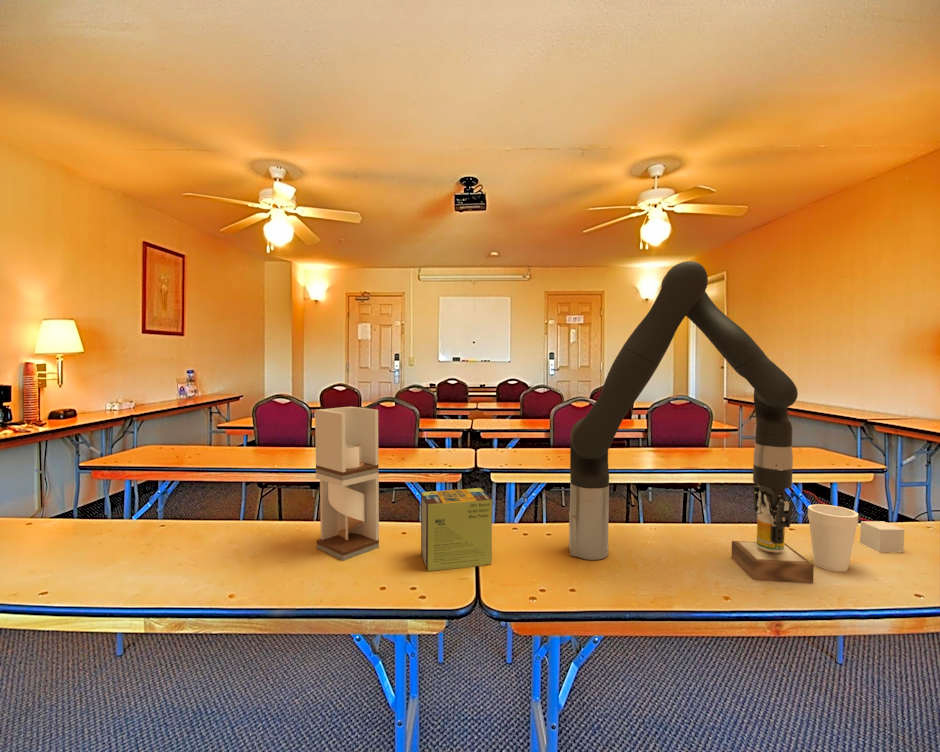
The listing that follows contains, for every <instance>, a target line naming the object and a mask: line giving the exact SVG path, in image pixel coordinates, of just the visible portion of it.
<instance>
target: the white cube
mask: <svg viewBox="0 0 940 752" xmlns="http://www.w3.org/2000/svg"><path fill="white" fill-rule="evenodd" d="M860 543H862V544H864V545H866V546H868V547H870V548H872V549H874V550H876V551H878V552H899V551H900V552H903V553H904V550H905V549H904V547H905V544H904V543H905V529H904V528H902V527H899V526H896V525H895V524H892V523H889V522H886V521H884V520H883V521H881V520H880V521H879V520H872V521H870V520H866V521H863V520H862V521H860V537H859V544H860ZM862 544H861V545H862ZM864 545H863V546H864ZM866 546H865V547H866ZM868 547H867V548H868ZM870 548H869V549H870ZM872 549H871V550H872ZM874 550H873V551H874ZM876 551H875V552H876ZM878 552H877V553H878Z"/></svg>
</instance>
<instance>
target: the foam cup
mask: <svg viewBox="0 0 940 752" xmlns="http://www.w3.org/2000/svg"><path fill="white" fill-rule="evenodd" d="M807 518H808V521H809V522H808V523H809V531H810V539H811V548H812V549H811V550H812V554H813V555H812V556H813V557H812V558H813V564H814V565H815V566H817V567H819V568H821V569H824V570H828V571H830V572H831V571H832V572H839V573H840V572H842V573H843V572H844V573H845V572H848V570H849V567H850V562H851V556H852V551H853V546H854V541H855V536H856V533H857V532H856V531H857V527H859V513H858V512H856V511H854V510H853V509H849V508H846V507H843V506H837V505H833V504H832V505H831V504H824V503H822V504H818V503H817V504H811V505H808V507H807Z"/></svg>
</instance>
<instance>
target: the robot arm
mask: <svg viewBox="0 0 940 752" xmlns="http://www.w3.org/2000/svg"><path fill="white" fill-rule="evenodd" d="M706 270H707V269H705V267H704V266H703V265H702V264H701V263H699V262H697V261H692V260H691V261H690V260H689V261H688V260H687V261H682V262H679V263H676V264H675V265H674V266H672V267H671V268H670V269H668V271H667V272H666V274H665V276H664V277H663V279H662V281H661V284H660V287H661V288H660V290H659V292H658V294H657V296H656V298H655V300H654V303H653V304H652V306H651V308H650V309H649V311H648V313H647V314H646V315H645V316H644V318H643V319H642V320H641V321H640V323H639V324H638V325H637V326H636V327H635V329H634V330H633V331H632V333H631V334H630V335H629V337H628V338H627V340H626V341H625V343H624V344H623V345H622V348H621V349H620V350H619V352H618V354H617V355H616V357H615V359H614V361H613V363H612V364H611V367H610V369H609V370H608V373H607V376H606V378H605V380H604V383H603V386H602V389H601V391H600V393H599V395H598V398H597V399H596V401H595V403H594V404H593V405H592V407H591V409H590V410H589V412H588V413H587V414H586V415H585V417H583V418H581V419H578V420H577V421H576V422H575V423H574V424H573V426H572V428H571V431H570V437H569V438H570V445H569V446H570V449H569V450H570V451H569V452H570V453H569V457H570V458H569V460H570V461H569V463H570V464H569V465H570V466H569V469H570V471H569V474H570V475H569V477H570V482H569V483H570V486H569V487H570V488H569V489H570V491H569V493H570V494H569V495H570V497H569V498H570V499H569V501H570V502H569V506H570V507H569V511H568V512H569V513H568V515H569V516H568V517H569V518H568V519H569V520H568V521H569V522H568V548H569V549H568V550H569V555H570V557H576V558H580V559H582V558H583V560H590V561H591V560H592V561H595V560H596V561H597V560H598V561H599V560H603V559H605V558H607V557H608V555H609V523H610V522H609V514H610V513H609V510H610V509H609V507H610V505H609V504H610V503H609V502H610V471H609V450H610V448H611V445H612V444H613V442H614V441H613V440H614V439H615V436H616V434H617V432H618V430H619V428H620V426H621V424H622V422H623V420H624V418H625V416H626V415H627V413H628V411H629V410H630V409H631V407H632V406H633V405H634V403H635V402H636V400H637V399H638V397H639V396H640V395H641V393H642V392H643V390H644V389H645V387H646V386H647V385H648V383H649V382H650V380H651V378H652V377H653V376H654V373H655V372H656V370H657V369H658V367H659V365H660V364H661V362H662V360H663V358H664V356H665V355H666V353H667V350H668V349H669V347H670V345H671V343H672V341H673V338H674V336H675V334H676V332H677V330H678V329H679V327H680V325H681V324H682V322H683V320H684V319H685V318H686V317H687V318H688V319H689V320H690V321H691V322H692V323H693V324H694V325H695V326H696V327H697V328H698V329H699V331H701V332H702V333H703V335H704V336H705V337H706V338H707V339H708V340H709V341H710V343H711V344H712V345H713V346H714V348H715V349H716V350H717V351H718V352H719V354H721V356H722V357H723V358H724V359H725V361H726V362H727V363H728V364H729V366H730V367H731V368H732V369H733V370H734V371H735V372H736V373H737V374H738V375H739V376H740V377H742V378H744V379H745V380H746V381H747V382H748V383H749V385H750V386H751V387H752V388H753V406H754V413H755V421H756V425H755V441H754V443H755V445H754V450H753V467H752V469H753V470H752V482H753V483H754V484H755V485H752V495H753V496H752V497H753V498H752V499H753V510H754V512H756V515H757V516H758V515H759V514H761V513H762V512H761V505H765V506H766V507H767V514H768V515H769V516H770V519H771V525H772V526H771V542H772V543H775V544H782V543H783V528H784V527H785V528H790V527H791V521H792V515H793V507H794V504H793V501H788V500H786V496H785V494H786V493H785V491H786V489H790V488H792V486H793V465H794V464H793V462H794V455H793V454H794V453H793V425H792V423H791V421H790V419H789V417H788V416H789V413H788V409H789V407H791V406H792V405H793V404H795V403H796V402H797V399H798V393H799V392H798V388H797V386H796V383H794V381H793V380H792V379H791V377H789V376H788V375H787V374H786V373H785V372H784V371H783V369H781V368H780V367H779V366H778V365H777V364H775V363H774V362H773V361H772V360H771V359H770V358H769V357H768V356H767V354H766V353H765V352H764V351H763V350H762V348H761V347H760V346H759V345H758V344H757V343H756V342H755V341H754V339H753V338H752V337H751V336H750V334H748V333H747V332H746V331H745V330H744V329H743V327H741V326H740V325H739V324H737V323H735V321H733V320H732V319H731V318H730V317H728V316H727V315H726V314H725V313H724V312H722V311H721V309H719V307H718V306H717V305H716V304H715V303H714V302H713V301H712V298H710V296H709V294H708V293H707V291H706V290H707V287H708V283H709V278H708V273H707V271H706ZM772 510H777V512H773V511H772ZM775 516H776V520H775Z"/></svg>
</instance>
